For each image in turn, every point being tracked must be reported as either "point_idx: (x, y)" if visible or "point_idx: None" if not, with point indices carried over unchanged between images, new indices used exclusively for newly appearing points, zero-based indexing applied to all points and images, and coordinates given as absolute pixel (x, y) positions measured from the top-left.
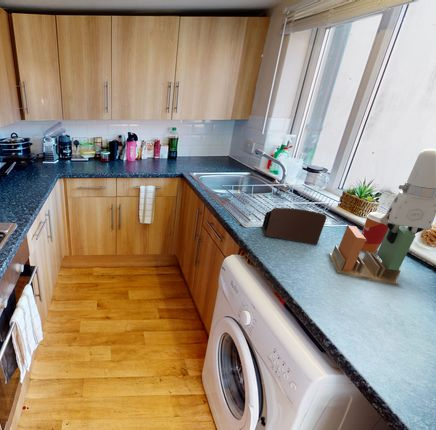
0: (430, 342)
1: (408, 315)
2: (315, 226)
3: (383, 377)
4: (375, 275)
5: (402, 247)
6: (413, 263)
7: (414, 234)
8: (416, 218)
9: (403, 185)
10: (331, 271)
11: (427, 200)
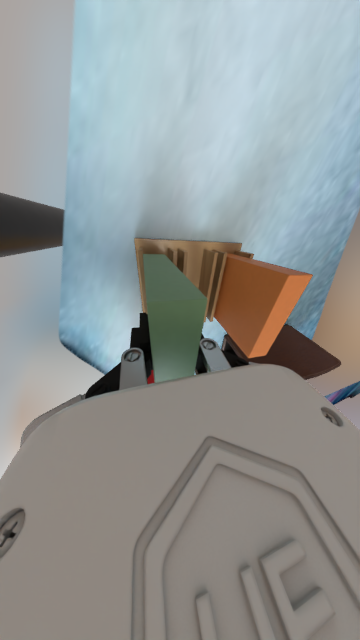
0: None
1: (148, 6)
2: (253, 357)
3: None
4: (179, 248)
5: (169, 272)
6: (87, 348)
7: (125, 353)
8: (196, 512)
9: None
10: (246, 246)
11: None
